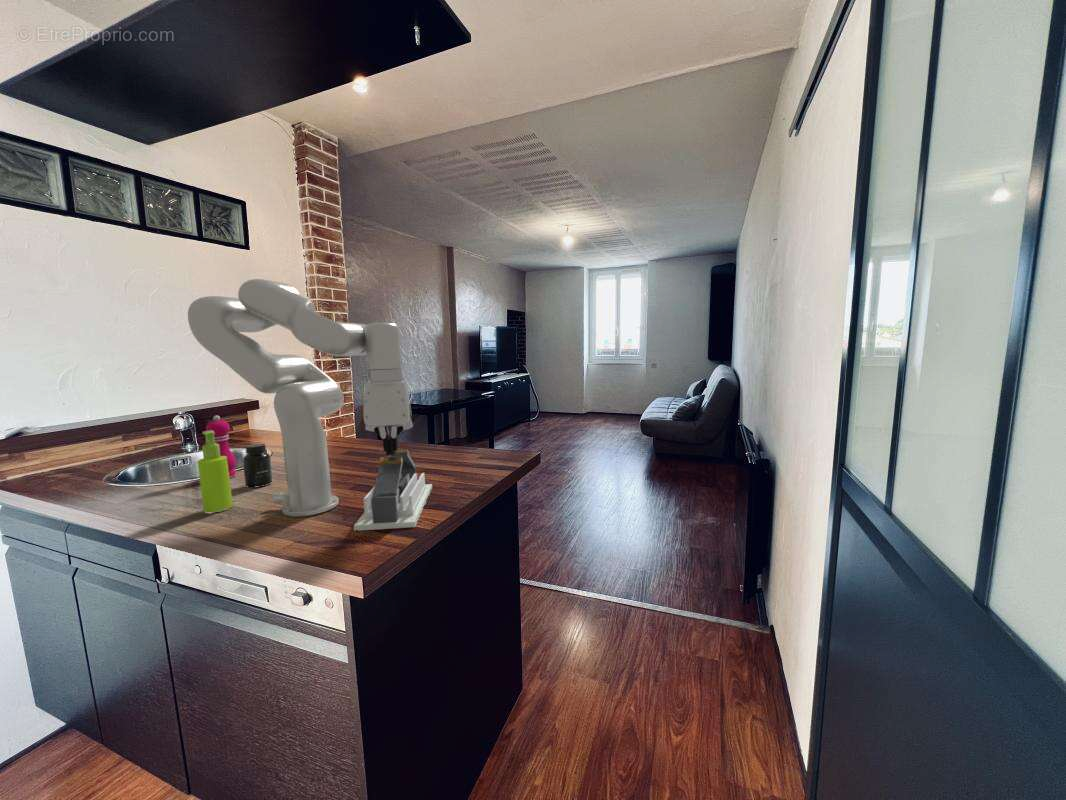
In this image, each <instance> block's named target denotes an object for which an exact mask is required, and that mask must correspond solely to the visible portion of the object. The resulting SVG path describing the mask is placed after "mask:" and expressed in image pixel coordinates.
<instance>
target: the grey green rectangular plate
mask: <svg viewBox="0 0 1066 800" xmlns="http://www.w3.org/2000/svg"><path fill="white" fill-rule="evenodd" d="M409 453H410V452H409V449H398V450H397V451H396V453H395V454H394V455H386V457H402V459H403V464H402V469H413V468H415V466H416V464H415V462H414V460H413V459H412V457H411V455H410V454H409Z"/></svg>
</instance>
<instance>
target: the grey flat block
mask: <svg viewBox="0 0 1066 800" xmlns="http://www.w3.org/2000/svg"><path fill="white" fill-rule="evenodd" d="M378 462H379V466H378V468H377V475H376V480H375V484H374V486H375V487H374V486H373V487H374V491H373V496H374V497H376V496H394V495H396V496H397V492H398V486H399V481H400V475H401V470H402V464H403V459H402V457H387V456H385V457H380V458H379V461H378Z"/></svg>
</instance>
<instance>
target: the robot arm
mask: <svg viewBox="0 0 1066 800" xmlns="http://www.w3.org/2000/svg"><path fill="white" fill-rule="evenodd" d="M237 295H238V298H237V297H229V296H219V295H218V296H217V295H211V296H210V295H209V296H203V297H199V298H197V299H194V300H193V302H191V303H190V305H189V307H188V310H187V321H188V325H189V328H190V331H191V333H192V335H193V337H194V338H195V340H196V341H197V342H198V343H199V344H200V345H201V346H202V347H203V348H204V349H205V350H206V351H208V352H209V353H210V354H212V355H213V356H214V357H216V358H217V359H219V360H220V361H221V362H222V363H224V364H225V365H227V366H228V367H229V368H230V369H231V370H232V371H234V372H235V373H236V374H237V375H238V376H240V377H241V378H242V379H243V380H244V381H246V382H247V383H248V384H249V385H250V386H252V387H253V388H254V389H256V390H257V391H258V392H261V393H262V394H268V395H269V394H275V396H274V398H273V408H274V412H275V416H276V418H277V421H278V424H279V428H280V433H281V441H282V449H283V458H284V467H285V476H286V477H285V478H286V486H287V491H286V492H274V493H273V494H272V502H273V504H277V503H278V504H279V503H280V504H281V503H283V504H284V505H283V506H282V509H281V510H282V514H283V515H285V516H288V517H295V518H296V517H297V518H298V517H308V516H314V515H318V514H322V513H325V512H328V511H331V510H332V509H334V508H336V507H337V506H338V505H339V503H340V500H339V497H338V496H336V495H335V494H332V485H331V476H330V473H331V472H330V464H329V452H328V443H327V442H328V441H327V435H326V431H325V429H324V427H323V425H322V423H321V421H320V419H319V418H321V417H326V416H330V415H333V414H336V413H337V412H338V411H340V410H341V408H342V407H343V406H344V401H345V398H344V397H345V395H344V392H343V390H342V388H341V387H340V385H338V383H337V382H336V381H335V380H334V379H333V378H331V377H330V376H329V375H328V374H326V373H325V372H323V370H321V369H320V368H319V367H318V366H316V365H315V364H314V363H313V362H311V361H310V360H309V359H307V358H305V357H303V356H300V355H297V354H275V353H272V352H270V351H268V350H267V349H266V348H265V347H263V346H262V345H260V344H259V343H258V342H257V341H255V339H252V337H249V336H248V335H245V334H243V333H258V332H262V331H265V330H268V329H269V328H271V327H274V326H277V325H278V326H280V327H282V328H284V329H287V330H288V331H290V332H291V334H293V337H295V338H296V339H297V340H298V341H299V342H300V343H302V344H304V345H306V346H308V347H310V348H312V349H314V350H316V351H318V352H320V353H323V354H326V355H328V356H333V357H352V356H353V357H356V356H357V357H358V356H366V364H367V365H366V366H367V370H366V371H365V372H362V373H361V378H362V379H367V382H368V383H364V387H363V388H364V390H363V409H362V410H363V414H362V415H363V422H364V425H365V427H364V429H365V430H366V431H369V432H375V433H376V434H377V435H378V436H379V437H380V438H381V439H382V446H383V447H382V448H383V452H385V455H386V456H387V455H394V454H395V453H396V451H397V450H399V442H398V440H399V439H398V436H399V435H400V434H401V433H402V431H405V430H410V429H412V428H413V426H414V424H413V421H412V415H413V414H412V407H411V406H412V405H411V400H410V394H409V390H408V386H407V381H404V380H403V379H404V378H403V364H402V363H403V362H402V349H401V347H402V346H401V335H400V333H401V332H400V328H399V326H398V325H397V324H396V323H392V322H370V323H367V324H365V323H357V322H356V323H354V322H345V321H344V322H342V321H335V320H332V319H330V318H328V317H325V316H323V315H321V314H319V313H317V312H316V311H317V310H316V306H315V304H314V303H313V301H311V300H310V299H309V298H306V297H304V296H302V295H301V294H300V292H299V290H298V289H296V288H295V287H294V286H293V285H290V284H288V283H284V282H280V281H279V282H278V281H274V280H268V279H262V278H253V279H249V280H246V281H244V282H243V283H242V284H241V286H239V288H238V292H237ZM388 427H391V430H390V431H391V433H390V432H389V429H388ZM389 433H390V434H389Z"/></svg>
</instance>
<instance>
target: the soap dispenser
mask: <svg viewBox="0 0 1066 800" xmlns="http://www.w3.org/2000/svg"><path fill="white" fill-rule="evenodd" d="M202 434H203V435H204V437H205V444H203V445H202V447H201V448H202V456H203V458H201V459H199V460H197V468H198V475H199V483H200V490H201V498H202V499H201V500H202V506H203V512H204V511H206V512H215V511H221V510H224V509H227V508H230V507H231V506H232V505H233V504H234V502H233V496H232V488H231V478H229V470H228V462H227V457H226V456H221V455H220V447H219V444H217V443H215V441H214V435H215V432H214V431H213V430H211V431H206V430H205V431H202ZM233 506H234V505H233Z"/></svg>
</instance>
